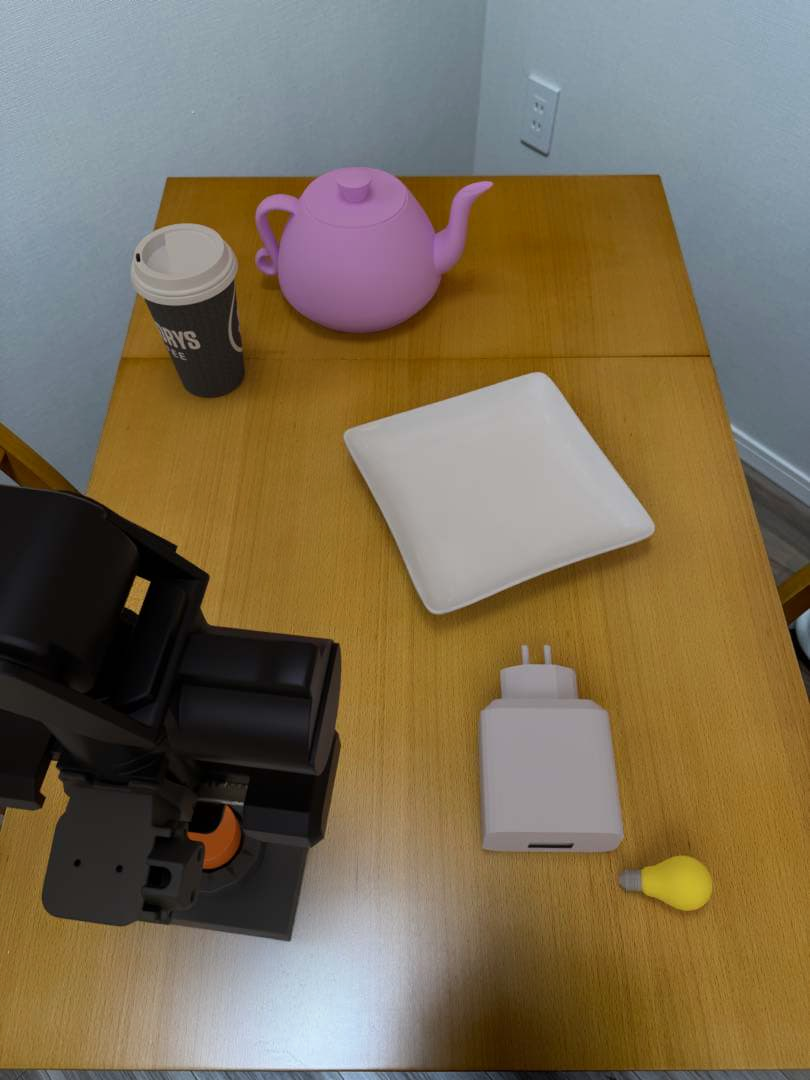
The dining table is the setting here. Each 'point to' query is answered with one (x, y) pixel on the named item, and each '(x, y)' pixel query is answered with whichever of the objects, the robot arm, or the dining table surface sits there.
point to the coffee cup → (193, 304)
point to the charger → (546, 765)
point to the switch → (220, 841)
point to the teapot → (360, 249)
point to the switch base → (249, 890)
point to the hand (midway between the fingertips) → (194, 811)
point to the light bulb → (672, 882)
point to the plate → (494, 490)
